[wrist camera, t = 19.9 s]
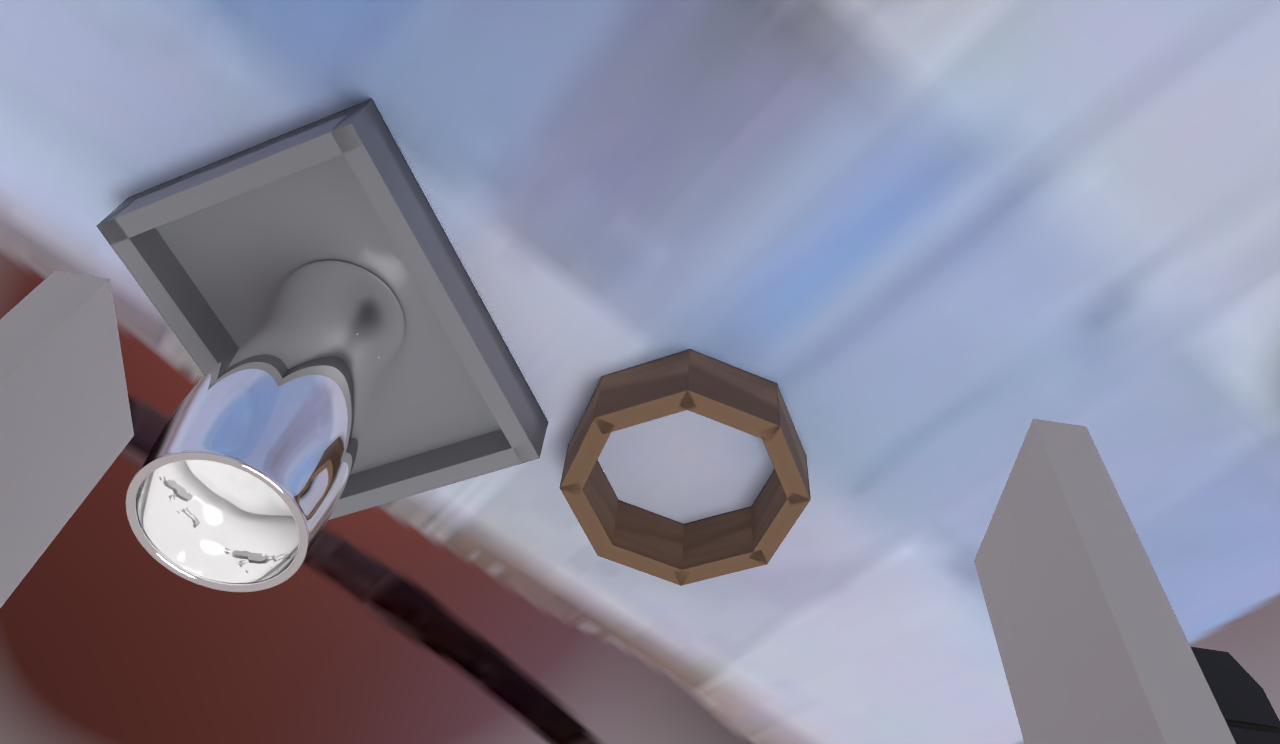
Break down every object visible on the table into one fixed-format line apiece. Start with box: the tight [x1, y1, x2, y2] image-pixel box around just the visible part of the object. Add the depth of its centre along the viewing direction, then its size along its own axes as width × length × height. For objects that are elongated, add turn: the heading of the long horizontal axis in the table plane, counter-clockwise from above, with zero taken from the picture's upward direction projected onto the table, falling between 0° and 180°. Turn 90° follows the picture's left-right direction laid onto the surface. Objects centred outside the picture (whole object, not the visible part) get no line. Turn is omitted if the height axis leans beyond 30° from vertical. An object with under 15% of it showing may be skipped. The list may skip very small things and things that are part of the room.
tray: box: [97, 99, 548, 520], centre depth 51 cm, size 18×13×3 cm
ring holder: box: [560, 349, 810, 586], centre depth 54 cm, size 11×11×4 cm
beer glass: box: [126, 260, 405, 592], centre depth 45 cm, size 7×7×15 cm
